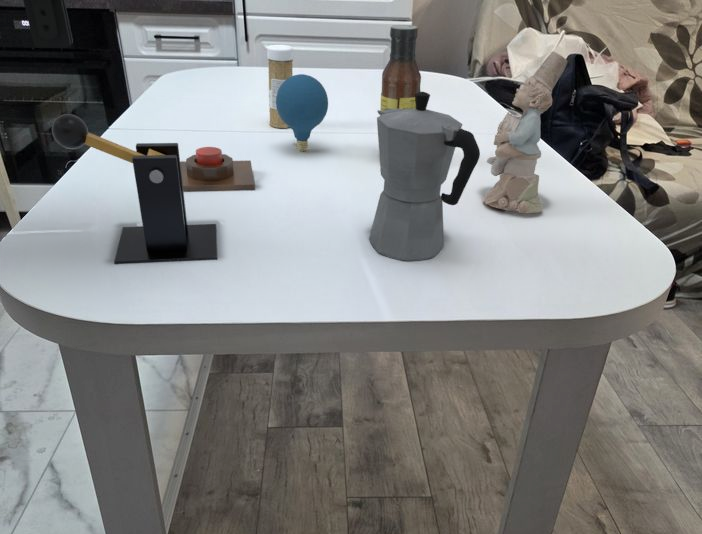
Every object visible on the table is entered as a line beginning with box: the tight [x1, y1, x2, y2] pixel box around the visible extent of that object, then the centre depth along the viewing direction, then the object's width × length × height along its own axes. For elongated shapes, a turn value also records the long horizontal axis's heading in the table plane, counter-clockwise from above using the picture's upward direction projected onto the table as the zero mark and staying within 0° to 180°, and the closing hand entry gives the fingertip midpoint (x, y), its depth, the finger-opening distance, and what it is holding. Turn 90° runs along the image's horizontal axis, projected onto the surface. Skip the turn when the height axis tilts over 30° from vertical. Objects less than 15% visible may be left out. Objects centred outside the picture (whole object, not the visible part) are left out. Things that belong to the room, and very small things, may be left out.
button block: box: [180, 153, 256, 193], centre depth 89 cm, size 12×10×4 cm
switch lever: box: [51, 113, 164, 164], centre depth 65 cm, size 12×3×3 cm, turn 101°
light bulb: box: [276, 73, 329, 152], centre depth 101 cm, size 8×8×12 cm
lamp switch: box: [113, 142, 218, 265], centre depth 69 cm, size 11×9×12 cm
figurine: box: [482, 51, 568, 214], centre depth 83 cm, size 9×8×20 cm
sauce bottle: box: [379, 24, 422, 110], centre depth 97 cm, size 6×6×20 cm
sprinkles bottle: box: [266, 44, 294, 129], centre depth 112 cm, size 5×5×13 cm
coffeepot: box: [368, 91, 481, 262], centre depth 71 cm, size 15×9×18 cm, turn 39°
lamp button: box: [195, 146, 223, 166], centre depth 88 cm, size 4×4×2 cm
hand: (54, 45), depth 59 cm, fingers closed
